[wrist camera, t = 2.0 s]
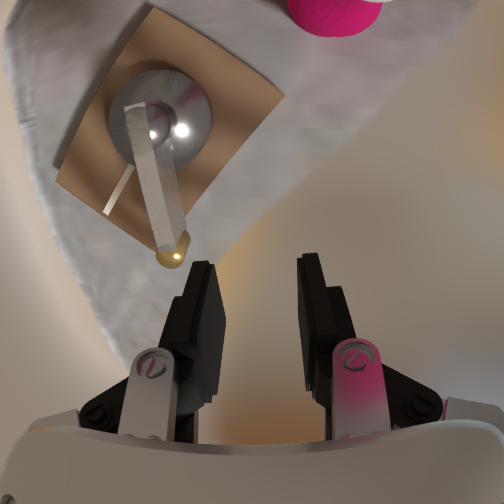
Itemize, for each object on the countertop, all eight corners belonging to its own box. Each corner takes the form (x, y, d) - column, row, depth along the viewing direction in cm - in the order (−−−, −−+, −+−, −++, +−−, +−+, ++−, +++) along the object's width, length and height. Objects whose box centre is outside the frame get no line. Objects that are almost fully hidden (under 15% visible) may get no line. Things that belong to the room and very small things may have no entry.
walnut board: (161, 10, 20) (153, 6, 18) (283, 94, 24) (285, 95, 23) (64, 175, 29) (54, 182, 27) (162, 244, 33) (156, 255, 31)
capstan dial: (107, 83, 22) (76, 89, 17) (205, 60, 21) (191, 56, 17) (144, 240, 30) (126, 271, 26) (230, 233, 30) (225, 265, 25)
